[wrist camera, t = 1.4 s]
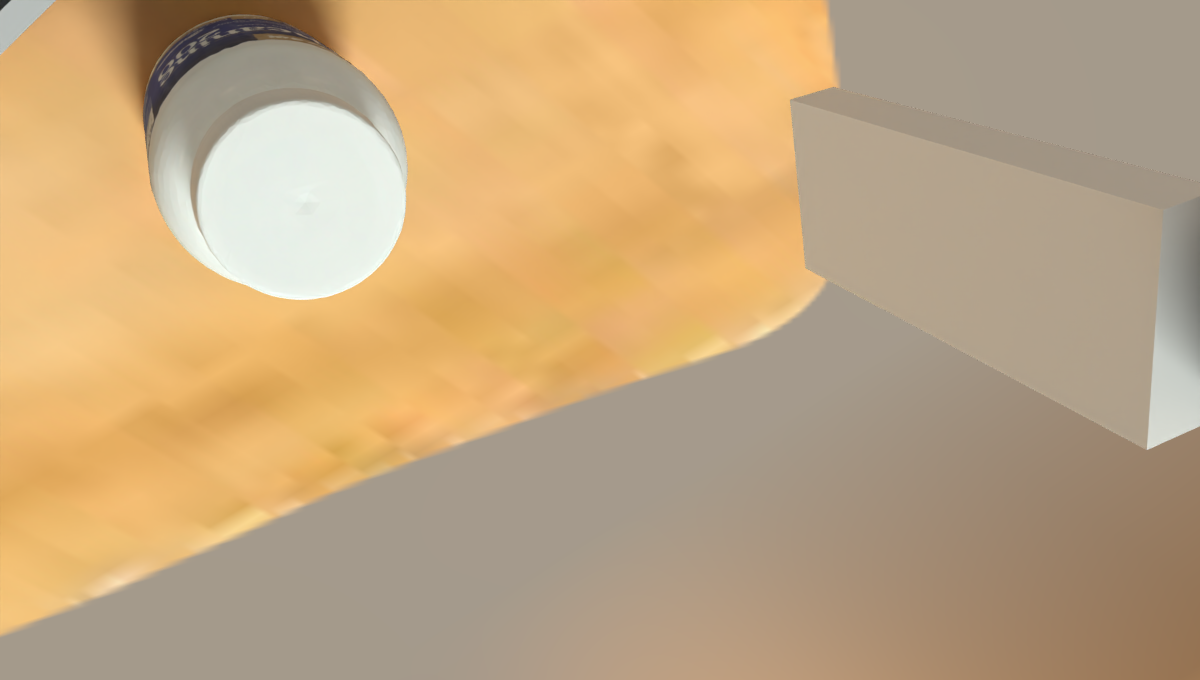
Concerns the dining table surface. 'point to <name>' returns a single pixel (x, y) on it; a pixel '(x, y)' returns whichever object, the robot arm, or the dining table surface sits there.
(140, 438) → the dining table surface
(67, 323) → the dining table surface
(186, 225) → the pill bottle
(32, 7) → the housing
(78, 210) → the dining table surface
